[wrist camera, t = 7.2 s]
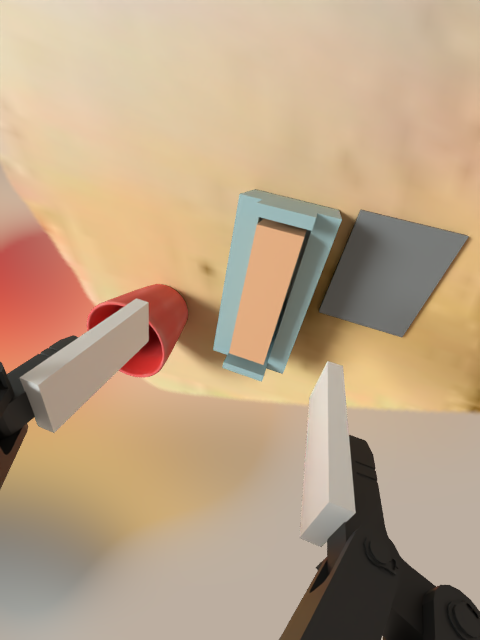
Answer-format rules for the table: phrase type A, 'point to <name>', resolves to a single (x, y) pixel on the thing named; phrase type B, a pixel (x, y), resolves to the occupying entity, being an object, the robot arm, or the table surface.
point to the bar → (265, 287)
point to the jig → (303, 281)
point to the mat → (388, 271)
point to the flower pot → (163, 326)
